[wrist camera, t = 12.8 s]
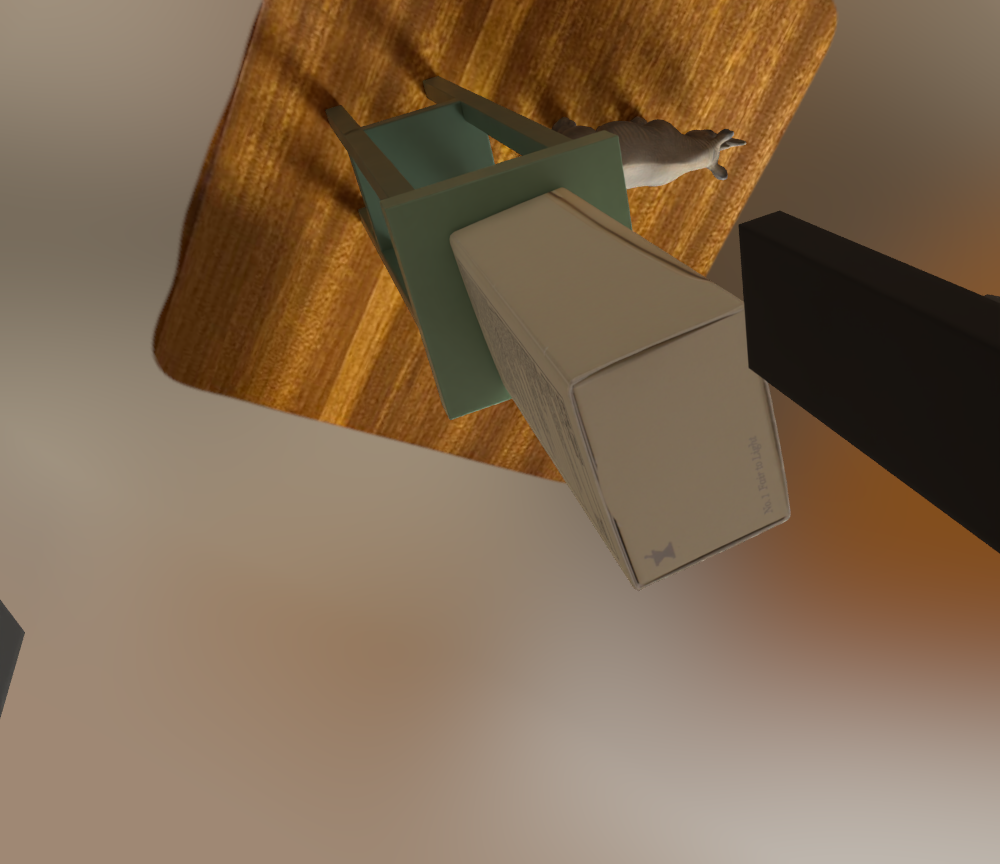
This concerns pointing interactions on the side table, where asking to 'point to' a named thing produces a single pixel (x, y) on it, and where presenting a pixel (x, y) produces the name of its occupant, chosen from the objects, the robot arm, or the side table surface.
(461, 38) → the side table surface
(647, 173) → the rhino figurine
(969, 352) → the robot arm
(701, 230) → the side table surface
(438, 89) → the stand
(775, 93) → the side table surface
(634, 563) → the cosmetic box
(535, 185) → the green square board
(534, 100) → the side table surface
